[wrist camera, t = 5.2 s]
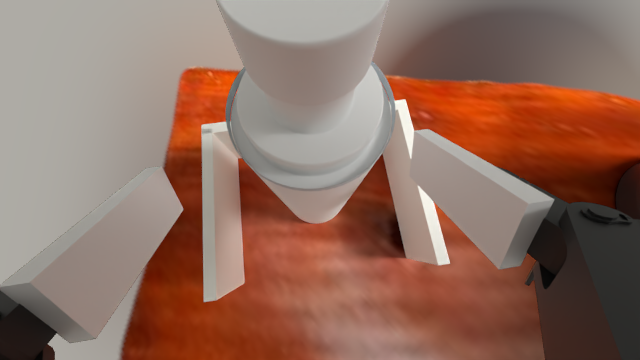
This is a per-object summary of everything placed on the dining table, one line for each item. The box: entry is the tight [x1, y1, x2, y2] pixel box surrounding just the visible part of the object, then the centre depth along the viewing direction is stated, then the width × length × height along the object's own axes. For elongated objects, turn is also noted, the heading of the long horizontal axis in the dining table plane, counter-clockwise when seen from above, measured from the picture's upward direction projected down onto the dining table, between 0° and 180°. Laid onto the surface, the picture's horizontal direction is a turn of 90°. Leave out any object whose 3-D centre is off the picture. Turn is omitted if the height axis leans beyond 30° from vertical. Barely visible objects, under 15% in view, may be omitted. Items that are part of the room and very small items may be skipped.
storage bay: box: [202, 100, 450, 302], centre depth 23 cm, size 20×16×7 cm
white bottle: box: [216, 0, 396, 224], centre depth 15 cm, size 7×7×25 cm
